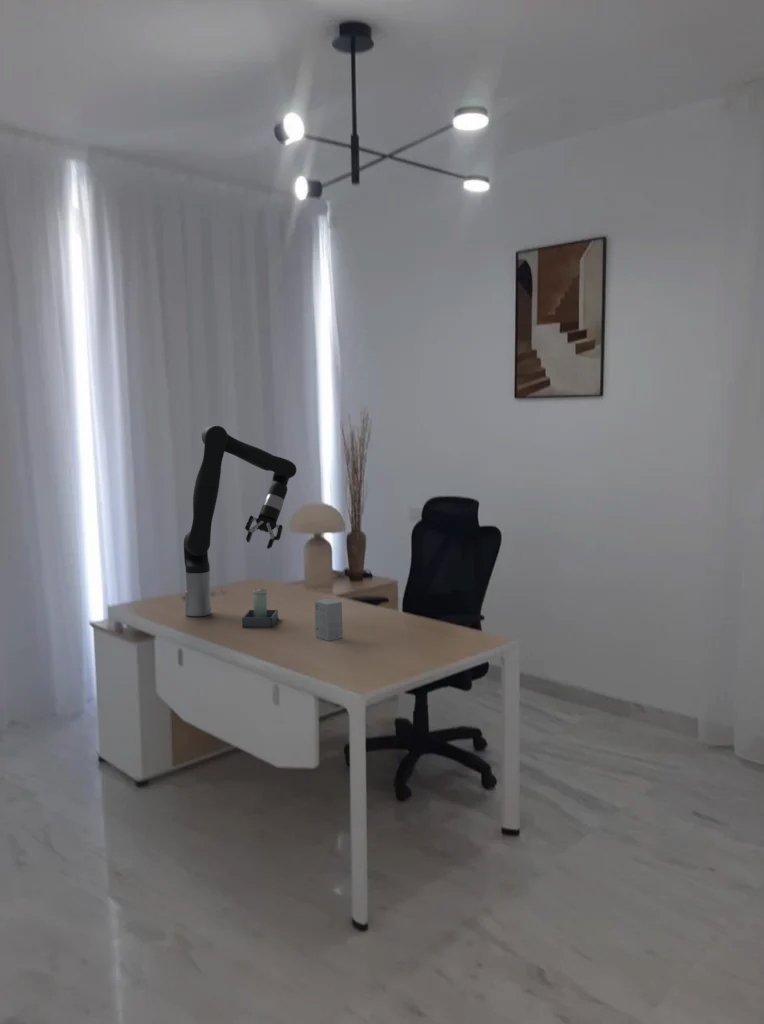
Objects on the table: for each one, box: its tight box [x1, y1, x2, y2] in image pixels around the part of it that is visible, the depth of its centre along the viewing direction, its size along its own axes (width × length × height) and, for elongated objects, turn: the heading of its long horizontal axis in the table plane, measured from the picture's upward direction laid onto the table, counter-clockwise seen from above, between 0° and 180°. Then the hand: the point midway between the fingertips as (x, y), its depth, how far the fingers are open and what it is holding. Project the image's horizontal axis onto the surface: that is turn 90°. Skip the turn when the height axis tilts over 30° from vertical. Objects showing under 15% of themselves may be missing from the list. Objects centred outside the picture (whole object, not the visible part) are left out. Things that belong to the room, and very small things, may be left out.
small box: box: [314, 598, 343, 642], centre depth 283 cm, size 8×6×13 cm
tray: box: [241, 609, 279, 628], centre depth 305 cm, size 11×13×4 cm
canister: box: [252, 588, 268, 618], centre depth 305 cm, size 5×5×12 cm
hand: (257, 545), depth 320 cm, fingers open, 8 cm apart
